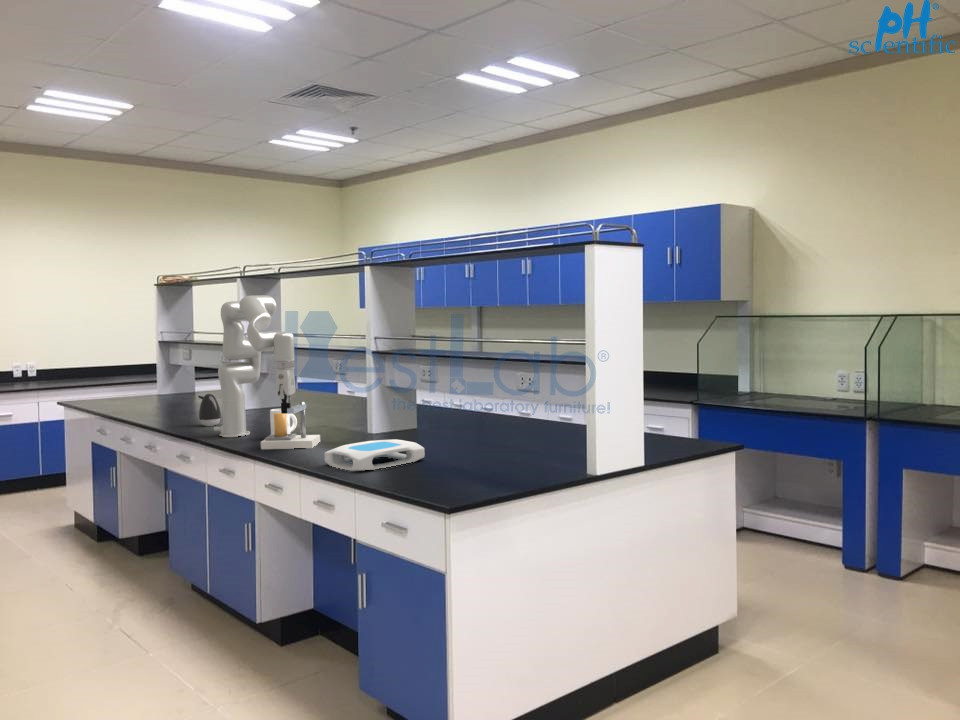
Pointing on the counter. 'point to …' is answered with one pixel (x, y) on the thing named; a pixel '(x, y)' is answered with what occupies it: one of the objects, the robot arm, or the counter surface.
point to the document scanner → (373, 454)
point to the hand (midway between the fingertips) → (286, 413)
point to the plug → (280, 425)
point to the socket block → (290, 442)
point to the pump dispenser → (209, 410)
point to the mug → (288, 416)
